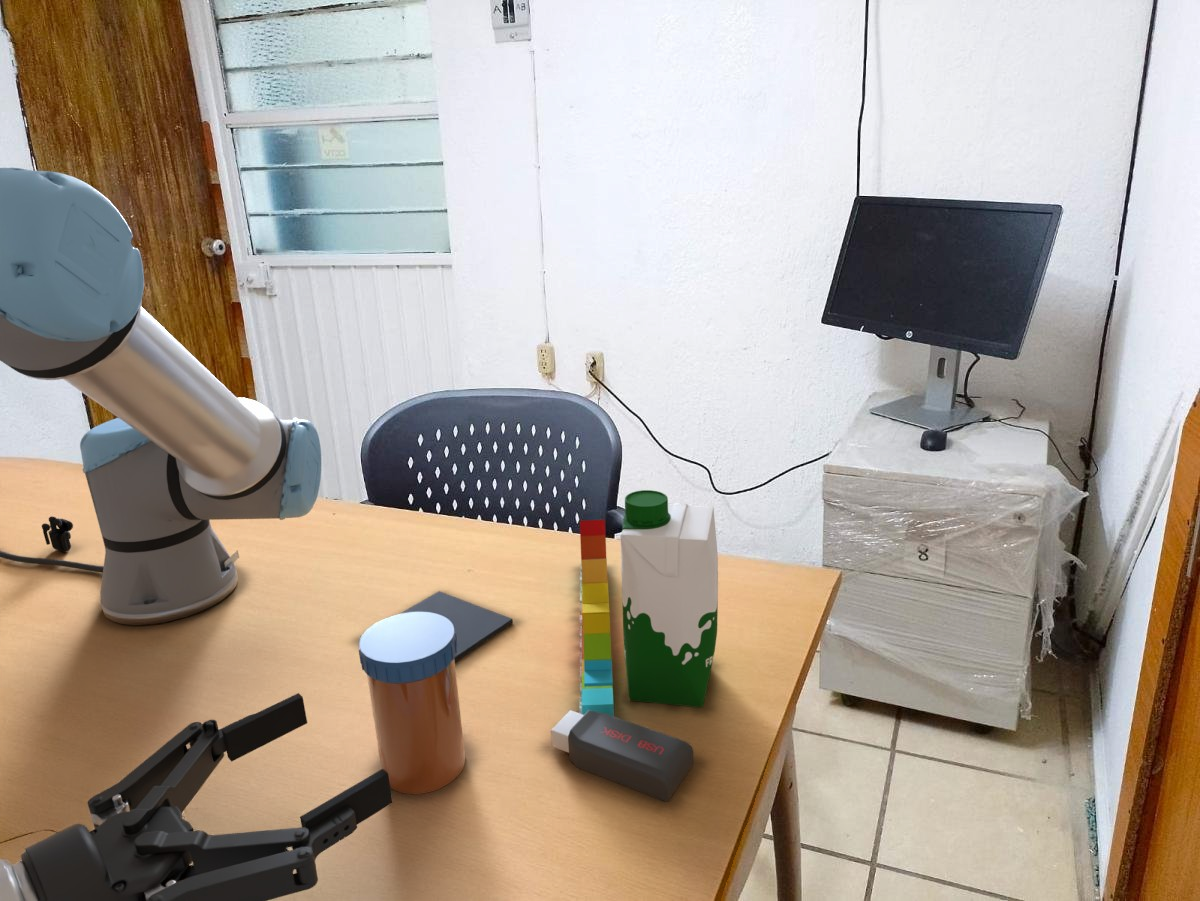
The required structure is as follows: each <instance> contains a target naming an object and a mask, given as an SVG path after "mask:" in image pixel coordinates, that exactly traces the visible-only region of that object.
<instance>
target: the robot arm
mask: <svg viewBox="0 0 1200 901" xmlns="http://www.w3.org/2000/svg"><path fill="white" fill-rule="evenodd" d="M133 237H134V235H133V233H132V230H131V229H130V226H129V225H128V223H127V220H125V218H124V216H123V215H122V214H121V213H120V211H119V210H118V209H117V208H116V206H115V205H114V204H113V203H112V202H111V201H110V200H109V199H108V198H107V197H106V196H105V195H104V194H103V193H101V192H100V191H99V190H98V189H96V188H94V187H93V186H91V185H90V184H88V183H87V182H85V181H83V180H81V179H78V178H77V177H75V176H72V175H68V174H65V173H61V172H57V171H52V170H51V171H50V170H32V169H27V168H22V167H21V168H20V167H0V362H2V364H5V365H6V366H7V367H9V368H10V369H12V370H14V371H15V372H17V373H19V374H22V375H23V376H26V377H27V378H31V379H36V380H42V381H59V380H64V381H65V382H67V383H68V384H70V385H71V386H72V387H74V388H75V389H77V390H78V391H80V392H81V393H82V394H84V396H87V397H88V398H89V399H90V400H92V401H94V402H96V404H98V405H99V406H101V407H102V408H104V409H105V410H107V411H108V412H109V413H111V414H112V415H114V416H115V417H116V418H113V419H111V420H108V421H105V422H102V423H101V424H98V425H96V426H94V427H93V428H90V430H88V431H86V432H85V433H84V435H83V437H81V439H80V443H79V449H80V456H81V462H82V472H83V474H84V475H85V479H86V482H87V486H88V489H89V493H90V496H91V501H92V504H93V507H94V511H95V515H96V519H97V522H98V526H99V530H100V534H101V537H102V541H103V546H104V549H105V552H104V554H105V555H104V561H103V565H97V564H89V563H84V562H83V563H82V562H78V561H72V560H71V561H70V560H64V559H63V560H62V559H54V558H45V557H30V556H22V555H17V554H13V553H10V552H6V551H3V550H0V558H2V559H5V560H10V561H14V562H19V563H24V564H25V563H26V564H32V565H33V564H35V565H47V566H58V567H64V568H72V569H76V570H77V569H78V570H84V571H90V572H97V573H102V578H101V585H100V592H99V595H100V605H101V609H102V611H103V614H104V616H105V617H106V619H109V620H110V621H112V622H114V623H118V624H122V625H130V626H141V625H142V626H145V625H154V624H155V625H156V624H162V623H168V622H172V621H177V620H180V619H183V618H187V617H189V616H192V615H195V614H198V613H200V612H203V611H205V610H207V609H209V608H211V607H213V606H214V605H216V604H218V603H220V602H221V601H223V600H224V599H226V598H227V597H228V596H229V595H230V594H231V593H232V592H233V591H234V590H235V588H236V587H237V584H238V582H239V577H238V572H237V568H236V565H235V562H236V561H238V559H240V554H239V550H235V551H234V553H232V554H231V555H230V554H229V552H228V551H227V550H226V547H225V546H224V544H223V543H222V542H221V540H220V539H219V537H218V535H217V534H216V532H215V531H214V528H213V527H212V525H211V521H215V520H217V521H218V520H265V519H266V520H268V519H269V520H270V519H271V520H273V519H275V520H276V519H279V521H284V520H286V519H293V518H302V517H304V516H307V515H308V514H309V513H310V512H311V511H312V510H313V508H314V505H315V504H316V501H317V499H318V496H319V490H320V486H321V478H322V448H321V446H322V445H321V440H320V437H319V433H318V430H317V428H316V426H315V424H314V423H313V422H312V421H310V420H307V419H299V418H297V417H293V418H292V419H280V418H278V416H277V415H276V414H274V413H273V412H272V411H271V409H269V408H268V407H266V406H265V405H264V404H262V403H261V402H258V401H256V400H254V399H251V398H246V397H237V396H236V395H235V394H234V393H232V391H230V390H229V389H228V387H226V386H225V385H224V384H223V383H222V382H221V381H220V380H219V379H218V378H217V377H215V375H214V374H212V373H211V371H210V370H209V369H207V367H205V366H204V365H203V364H202V362H200V361H199V360H198V359H197V358H196V357H195V356H194V355H192V354H191V352H189V351H188V350H187V349H186V348H185V347H184V346H183V345H182V344H181V342H179V341H178V340H177V339H176V338H175V337H174V336H173V335H172V334H171V333H169V331H167V330H166V329H165V327H164V326H162V325H161V324H160V323H159V322H158V321H157V320H156V319H155V318H154V317H153V316H152V315H151V314H150V313H149V312H148V311H146V309H145V308H143V307H142V306H143V300H142V299H143V296H144V288H145V274H144V265H143V260H142V256H141V252H140V250H139V249H138V248H137V247H134V246H133V245H132V239H133ZM307 724H308V719H307V713H306V708H305V702H304V698H303V696H302V695H301V693H299V692H297V693H295V694H293V695H291V696H289V697H287V698H285V699H283V700H281V701H279V702H276V703H274V704H272V705H270V706H268V707H265V708H264V709H262V710H260V711H258V712H256V713H252V714H248V715H246V716H245V717H242V718H240V719H238V720H236V721H234V722H232V723H229V724H227V725H226V726H223V727H221V728H219V726H218V721H217V720H216V719H209V720H205V721H203V723H202V722H200V721H194V722H191V723H189V724H187V725H186V726H185V727H184V728H183V729H182V730H180V731H179V732H178V733H177V734H176V735H174V736H173V737H172V738H170V739H169V740H168V741H167V742H166V743H165V744H163V745H162V746H161V747H159V748H158V749H157V750H155V752H154V753H153V754H151V755H150V756H148V758H146V760H143V762H141V763H140V764H139V765H138V766H136V767H135V768H134V769H133V770H132V771H130V772H129V773H128V774H127V775H125V776H124V777H123V778H122V779H121V780H119V781H118V782H116V783H115V784H113V785H112V786H110V787H108V788H106V789H104V790H103V791H100V792H99V793H97V794H95V795H93V796H92V797H91V798H89V799H88V800H87V807H88V811H89V815H90V817H91V820H92V823H93V827H94V829H92V830H89V828H88V827H87V826H86V825H85V824H82V823H75V824H72V825H70V826H68V827H66V828H64V829H62V830H59V831H58V832H56V833H54V834H52V835H50V836H47V837H46V838H44V839H42V840H40V841H38V842H35V843H34V844H31V845H30V846H28V847H25V848H24V852H23V853H21V854H20V858H21V860H20V861H17V862H15V863H13V864H11V862H10V860H8V859H5V858H1V859H0V901H271V900H275V899H278V898H282V897H285V896H289V895H292V894H295V893H299V892H304V891H307V890H310V889H313V888H314V887H315V886H316V885H317V884H318V882H319V877H318V871H317V864H316V859H317V857H318V856H319V855H320V854H322V853H323V852H324V851H326V850H328V849H329V848H331V847H332V846H334V845H335V844H337V843H339V842H340V841H343V840H344V839H345V838H347V837H349V836H351V835H352V834H353V833H354V832H355V831H356V830H357V829H358V825H359V824H361V823H363V822H364V821H365V820H367V819H369V818H370V817H372V816H374V815H375V814H378V813H379V812H380V811H382V810H383V809H385V808H387V807H388V806H390V805H392V804H393V796H392V788H391V787H390V782H389V775H388V773H387V772H386V771H385V770H384V769H381V768H380V769H379V770H378V771H376V772H374V773H372V774H370V776H368V777H366V778H364V779H362V780H361V781H359V782H357V783H356V784H354V785H352V786H350V787H349V788H347V789H345V790H344V791H342V792H340V793H339V794H337V795H335V796H333V797H332V798H330V799H328V800H327V801H325V802H323V803H321V804H319V805H317V806H316V807H315V808H313V809H311V810H309V811H307V812H306V813H304V814H302V815H301V816H299V818H300V819H299V820H300V824H301V827H290V828H279V829H277V828H276V829H267V830H266V829H265V830H256V831H255V830H254V831H246V832H245V831H244V832H233V833H223V834H222V833H221V834H208V833H207V832H206V831H205V830H194V827H193V826H192V824H191V823H190V822H189V821H187V820H185V819H184V818H183V812H184V811H185V809H186V808H187V807H188V806H189V804H190V803H191V801H192V800H193V799H194V798H195V797H196V795H197V793H198V792H199V791H200V790H201V788H202V787H203V786H204V784H205V782H206V781H207V780H208V778H209V777H210V776H211V775H212V773H213V772H214V771H215V770H216V768H217V767H218V765H219V764H220V762H221V761H222V760H223V759H224V757H225V753H226V756H227V758H228V759H229V760H230V761H231V763H233V761H236V760H238V759H240V758H242V757H243V756H245V755H247V754H250V753H252V752H254V751H255V750H257V749H259V748H261V747H263V746H265V745H267V744H269V743H271V742H273V741H275V740H277V739H279V738H282V737H283V736H285V735H287V734H289V733H291V732H293V731H295V730H297V729H300V728H301V727H303V726H305V725H307ZM188 744H189V747H188V746H187V745H188ZM288 848H292V849H291V850H289V849H288ZM294 871H295V872H294Z"/></svg>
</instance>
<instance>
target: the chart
mask: <svg viewBox="0 0 1200 901" xmlns="http://www.w3.org/2000/svg"><path fill="white" fill-rule="evenodd" d="M606 535H607V534H606V519H589V520H588V519H586V520H579V537H580V539H579V540H580V562H581V563H580V573H579V602H580V603H579V626H580V627H579V682H580V683H579V708H578V709H579V710H578V711H579V713H580V714H583V715H584V714H585V713H586V712H587V711H589V710H590V711H595V712H599V713H604V714H608V715H611V716H614V717H615V711H614V710H615V709H614V708H615V706H614V705H615V704H614V690H613V687H614V686H613V685H614V680H613V665H612V664H613V662H612V660H613V659H612V639H611V638H612V637H611V614H610V599H609V582H608V560H607V538H606Z"/></svg>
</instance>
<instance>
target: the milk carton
mask: <svg viewBox="0 0 1200 901" xmlns="http://www.w3.org/2000/svg"><path fill="white" fill-rule="evenodd" d="M714 509H715V507H714V506H711V505H709V506H708V505H689V504H688V503H685V502H683V503H681V502H676V503H669V498H668V496H667V495H666V494H665V493H664V492H661V491H657V490H651V489H650V490H649V489H644V490H643V489H641V490H636V491H632V492H630V493H628V494H627V495H625V497H624V516H623V519H622V527H621V533H620V536H619V537H620V538H619V539H620V560H621V561H620V564H621V565H620V566H621V568H620V569H621V598H622V599H621V600H622V601H621V602H622V603H621V604H622V605H621V606H622V633H623V634H622V635H623V636H622V637H623V651H624V663H625V670H626V679H627V680H626V681H627V689H628V699H629V701H631V702H632V701H633V702H643V703H652V704H653V703H654V704H664V705H672V706H681V707H683V706H684V707H693V708H703V707H704V703H705V698H706V695H707V694H706V693H707V689H708V684H709V680H710V676H711V671H712V667H713V663H714V657H715V652H716V644H717V636H718V616H719V615H718V612H719V611H718V610H719V607H718V604H719V554H718V541H717V530H716V519H715V510H714Z"/></svg>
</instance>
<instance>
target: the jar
mask: <svg viewBox="0 0 1200 901" xmlns="http://www.w3.org/2000/svg"><path fill="white" fill-rule="evenodd" d="M456 671H457V670H456V662H455V661H454V660H453V661H452V662H451V663H450V664H449V665H448V666H447V667H446V668H444V669H443V670H442V671H440V672H438V673H437V674H435V675H432V676H430V677H428V678H425V679H422V680H418V681H413V682H407V683H387V682H382V681H378V680H376V679H373V678H371V677H370V676H368V675H367V674H366V676H367V683H368V690H369V691H368V692H369V696H370V703H371V710H372V717H373V722H374V723H373V724H374V730H375V736H376V742H377V749H378V750H377V751H378V755H379V756H378V757H379V764H380V770H381V769H384V770H385V771H386V772H387V773H388V775H389V782H390V788H391V790H394V791H395V792H399V793H402V794H408V795H421V794H427V793H431V792H434V791H438V790H439V789H442V788H444V787H445V786H447V785H449V784H450V783H451V782H453V781H455V779H456V778H457V777H458V776H459V775H460V774H461V773H462V771H463V769H464V766H465V763H466V753H465V745H464V736H463V725H462V717H461V715H462V714H461V708H460V697H459V690H458V689H459V688H458V681H457V672H456Z"/></svg>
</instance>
